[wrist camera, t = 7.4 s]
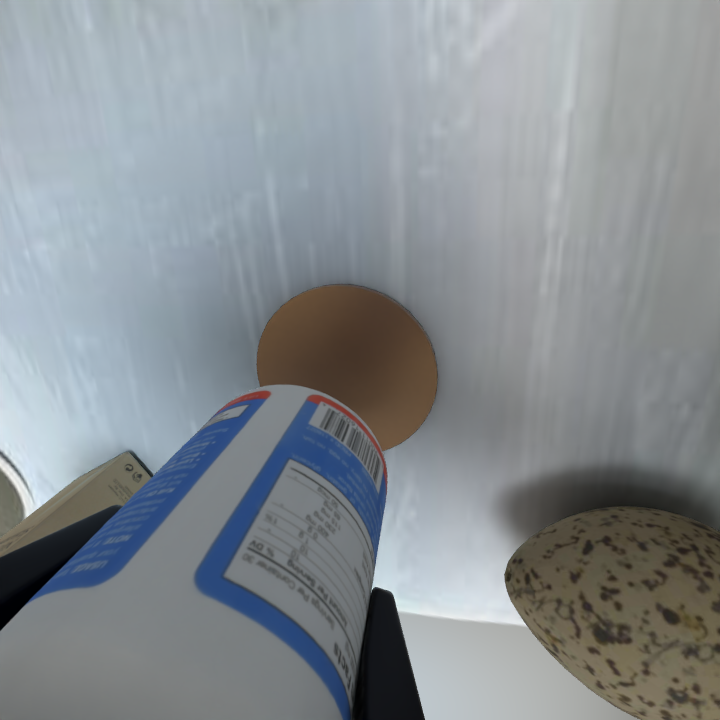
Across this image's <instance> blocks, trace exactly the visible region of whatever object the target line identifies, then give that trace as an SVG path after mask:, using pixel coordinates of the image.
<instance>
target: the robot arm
mask: <svg viewBox="0 0 720 720" xmlns="http://www.w3.org/2000/svg"><path fill="white" fill-rule="evenodd" d="M122 507H123V506H122V505H113V506H110V507H108V508H106V509H104V510H101V511H99V512H97V513H95V514H93V515H91V516H88V517H86V518H84V519H82V520H80V521H77V522H75V523H73V524H71V525H69V526H67V527H64V528H62V529H60V530H58V531H56V532H54V533H51V534H49V535H47V536H45V537H43V538H41V539H38V540H36V541H34V542H32V543H30V544H28V545H25V546H23V547H21V548H19V549H17V550H14V551H12V552H10V553H8V554H6V555H4V556H1V557H0V631H1V630H2V629H3V628H4V627H5V626H6V625H7V624H8V623H9V622H10V620H11V619H12V618H13V617H14V616H15V615H16V614H17V613H18V612H19V611H20V610H21V609H22V608H23V607H24V606H25V605H26V603H27V602H28V601H29V600H30V599H31V598H32V597H33V596H34V595H35V594H36V593H37V592H38V591H39V590H40V589H41V588H42V587H43V586H44V585H45V584H46V583H47V582H48V581H49V580H50V579H51V578H52V577H53V576H54V575H55V574H56V573H57V572H58V571H59V570H60V569H61V568H62V567H63V566H64V565H65V564H66V563H67V562H68V561H69V560H70V559H71V558H72V557H73V556H74V555H75V554H76V553H77V552H78V551H79V550H80V549H81V548H82V547H83V546H84V545H85V544H86V543H87V542H88V541H89V540H90V539H91V538H92V537H93V536H94V535H95V534H96V533H97V532H98V531H99V530H100V529H101V528H102V527H103V526H104V525H105V523H106V522H107V521H108V520H109V519H110V518H111V517H113V516H114V515H115V514H116V513H117V512H118V511H119V510H120V509H121V508H122ZM352 720H425V718H424V714H423V710H422V706H421V702H420V698H419V694H418V690H417V686H416V682H415V678H414V674H413V670H412V667H411V663H410V659H409V655H408V651H407V647H406V643H405V639H404V635H403V631H402V627H401V623H400V619H399V616H398V612H397V608H396V604H395V600H394V596H393V594H392V593H391V592H390V591H387V590H384V589H381V588H378V587H375V588H373V590H372V592H371V596H370V602H369V609H368V615H367V621H366V628H365V634H364V640H363V646H362V653H361V660H360V667H359V674H358V680H357V688H356V695H355V701H354V706H353V712H352Z"/></svg>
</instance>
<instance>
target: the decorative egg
mask: <svg viewBox="0 0 720 720" xmlns="http://www.w3.org/2000/svg"><path fill="white" fill-rule="evenodd" d="M504 576H505V584H506V588H507V592H508V595H509V597H510V600H511V602H512V603H513V605H514V606H515V608H516V610H517V611H518V613H519V615H520V616H521V618H522V619H523V621H524V622H525V623H526V625H527V626H528V627H529V629H530V630H531V632H532V633H533V634H534V635H535V637H536V638H537V639H538V640H539V641H540V642H541V644H542V645H543V646H544V647H545V648H546V650H547V651H548V652H549V653H550V654H551V655H552V656H553V657H554V658H555V659H556V660H557V661H558V662H559V663H560V664H561V665H562V666H563V667H564V668H565V669H566V670H568V671H569V672H570V673H571V674H572V675H573V676H574V677H576V678H577V679H578V680H579V681H580V682H582V683H583V684H584V685H585V686H586V687H588V688H589V689H590V690H592V691H593V692H594V693H596V694H597V695H598V696H600V697H601V698H603V699H605V700H606V701H608V702H609V703H611V704H612V705H614V706H615V707H617V708H619V709H621V710H622V711H624V712H626V713H628V714H630V715H632V716H634V717H636V718H638V719H640V720H720V532H719V531H718V530H716V529H714V528H712V527H709V526H707V525H705V524H703V523H701V522H698V521H696V520H693V519H690V518H687V517H685V516H682V515H679V514H675V513H671V512H667V511H663V510H658V509H652V508H645V507H632V506H617V507H608V508H600V509H594V510H590V511H585V512H582V513H579V514H575V515H572V516H570V517H567V518H565V519H562V520H560V521H558V522H556V523H554V524H552V525H550V526H548V527H546V528H544V529H542V530H541V531H539V532H538V533H537V534H535V535H534V536H532V537H531V538H529V539H528V540H527V541H526V542H525V543H524V544H523V545H521V546H520V547H519V548H518V549H517V550H516V552H515V553H514V554H513V556H512V557H511V559H510V560H509V562H508V564H507V567H506V571H505V574H504Z"/></svg>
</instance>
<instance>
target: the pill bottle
mask: <svg viewBox="0 0 720 720" xmlns="http://www.w3.org/2000/svg"><path fill="white" fill-rule="evenodd" d="M386 494H387V467H386V462H385V458H384V455H383V452H382V449H381V447H380V445H379V443H378V441H377V439H376V437H375V436H374V434H373V433H372V431H371V430H370V428H369V427H368V426H367V425H366V423H365V422H364V421H363V420H362V419H361V418H360V417H359V416H358V415H357V414H356V413H355V412H353V411H352V410H351V409H350V408H348V407H347V406H345V405H344V404H342V403H341V402H339V401H338V400H336V399H334V398H333V397H331V396H329V395H327V394H325V393H322V392H319V391H317V390H313V389H310V388H307V387H302V386H296V385H269V386H263V387H259V388H255V389H252V390H250V391H247V392H245V393H243V394H241V395H239V396H237V397H236V398H234V399H233V400H231V401H230V402H229V403H228V404H226V405H225V406H224V407H223V408H222V409H220V410H219V411H218V412H217V413H216V414H215V415H214V416H213V417H212V418H211V419H210V420H209V421H208V422H207V423H206V424H205V425H204V426H203V427H202V428H201V429H200V430H199V431H198V432H197V433H196V434H195V435H194V436H193V437H192V438H191V439H190V440H189V441H188V442H187V443H186V444H185V445H183V446H182V448H181V449H180V450H179V451H178V452H176V453H175V455H174V456H173V457H172V458H171V459H170V460H169V461H168V462H167V463H166V464H165V465H164V466H163V467H162V468H161V469H160V470H159V471H158V472H157V473H156V474H155V475H154V476H153V477H152V478H151V479H150V480H149V481H148V482H147V483H146V484H145V485H144V486H143V487H142V488H141V489H140V490H139V491H137V492H136V493H135V494H134V495H133V496H132V497H131V498H130V499H129V501H128V502H127V503H126V504H125V505H124V506H123V507H122V508H121V509H120V510H119V511H118V512H117V513H116V514H115V515H114V516H113V517H111V518H110V519H109V520H108V521H107V522H106V523H105V525H104V526H103V527H102V528H101V529H100V530H99V531H98V532H97V533H96V534H95V535H94V536H93V537H92V538H91V539H90V540H89V541H88V542H87V543H86V544H85V545H84V546H83V547H82V548H81V549H80V550H79V551H78V552H77V553H76V554H75V555H74V556H73V557H72V558H71V559H70V560H69V561H68V562H67V563H66V564H65V565H64V566H63V567H62V568H61V569H60V570H59V571H58V572H57V573H56V574H55V575H54V576H53V577H52V578H51V579H50V580H49V581H48V582H47V583H46V584H45V585H44V586H43V587H42V588H41V589H40V590H39V591H38V592H37V593H36V594H35V595H34V596H33V597H32V598H31V599H30V600H29V601H28V602H27V603H26V605H25V606H24V607H23V608H22V609H21V610H20V611H19V612H18V613H17V614H16V615H15V616H14V617H13V618H12V619H11V620H10V622H9V623H8V624H7V625H6V626H5V627H4V628H3V629H2V630H1V631H0V720H352V712H353V706H354V701H355V695H356V688H357V680H358V674H359V667H360V660H361V653H362V646H363V640H364V634H365V628H366V621H367V615H368V609H369V602H370V596H371V590H372V583H373V577H374V570H375V564H376V557H377V551H378V544H379V538H380V532H381V526H382V520H383V514H384V508H385V502H386Z"/></svg>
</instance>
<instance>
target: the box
mask: <svg viewBox="0 0 720 720" xmlns="http://www.w3.org/2000/svg"><path fill="white" fill-rule="evenodd" d="M150 479H151V477H150V476H149V474H148V473H147V472H146V471H145V470H144V469H143V467H142V466H141V465H140V464H139V463H138V462H137V461H136V459H135V458H134V457H133V456H132V455H131V454H130V453H129V452H125V453H123V454H121V455H119V456H117V457H115V458H114V459H112V460H110V461H108V462H106V463H104V464H103V465H101V466H99V467H97V468H95V469H93V470H91V471H90V472H88V473H86V474H84V475H83V476H81V477H79V478H77V479H76V480H74V481H73V482H72V483H70V484H69V485H68V486H67V487H65V488H64V489H63V490H61V491H60V492H59V493H58V494H56V495H55V496H54V497H52V498H51V499H50V500H49V501H47V502H46V503H45V504H44V505H42V506H41V507H40V508H39V509H37V510H36V511H35V512H33V513H32V514H31V515H30V516H28V517H27V518H26V519H24V520H23V521H22V522H20V523H19V524H18V525H17V526H15V527H14V528H13V529H11V530H10V531H9V532H8V533H6V534H5V535H4V536H3V537H1V538H0V557H1V556H4V555H6V554H8V553H10V552H12V551H14V550H17V549H19V548H21V547H23V546H25V545H28V544H30V543H32V542H34V541H36V540H38V539H41V538H43V537H45V536H47V535H49V534H51V533H54V532H56V531H58V530H60V529H62V528H64V527H67V526H69V525H71V524H73V523H75V522H77V521H80V520H82V519H84V518H86V517H88V516H91V515H93V514H95V513H97V512H99V511H101V510H104V509H106V508H108V507H110V506H113V505H122V506H124V505H125V504H126V503H127V502H128V501H129V499H130V498H131V497H132V496H133V495H134V494H135V493H136V492H137V491H139V490H140V489H141V488H142V487H143V486H144V485H145V484H146V483H147V482H148V481H149V480H150Z"/></svg>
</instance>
